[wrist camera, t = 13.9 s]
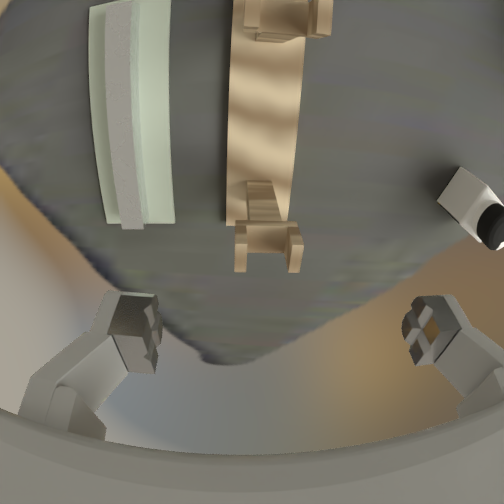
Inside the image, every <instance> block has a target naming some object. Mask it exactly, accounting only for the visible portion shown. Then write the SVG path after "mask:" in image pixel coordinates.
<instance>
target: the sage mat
mask: <svg viewBox="0 0 504 504" xmlns="http://www.w3.org/2000/svg"><path fill="white" fill-rule="evenodd" d="M127 1H134V2H136V3H138V4H140V21H139V102H140V124H141V140H142V153H143V165H144V175H145V185H146V194H147V203H148V211H149V219H148V221H147V223H175V212H174V199H173V185H172V169H171V149H170V122H169V39H170V14H171V0H119V1H114V2H110V3H105V4H101V5H97V6H93V7H90V13H89V87H90V104H91V116H92V127H93V137H94V146H95V154H96V161H97V168H98V175H99V181H100V187H101V193H102V199H103V204H104V210H105V215H106V220H107V224H118V223H121V219H120V213H119V208H118V202H117V195H116V189H115V182H114V175H113V167H112V159H111V151H110V141H109V131H108V119H107V105H106V86H105V18H106V6H107V5H112V4H117V3H122V2H127Z"/></svg>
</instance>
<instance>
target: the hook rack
mask: <svg viewBox="0 0 504 504" xmlns="http://www.w3.org/2000/svg"><path fill="white" fill-rule="evenodd" d="M332 10H333V0H312V1H311V2H308V0H234V1H233V18H232V37H231V58H230V82H229V110H228V145H227V198H226V226H235V272H246V261H247V253H284V255H285V259H286V264H287V269H288V273H299V271H300V266H301V260H302V254H303V249H304V243H303V240H302V237H301V234H300V231H299V228H298V225H297V222H295V221H287V217H288V209H289V201H290V192H291V184H292V175H293V166H294V157H295V147H296V138H297V128H298V118H299V107H300V96H301V85H302V74H303V61H304V49H305V37H307V38H314V39H318V38H322V37H326V36H330V35H331V25H332Z"/></svg>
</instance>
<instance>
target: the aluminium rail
mask: <svg viewBox="0 0 504 504" xmlns="http://www.w3.org/2000/svg"><path fill="white" fill-rule="evenodd" d="M139 21H140V4H138V3H136V2H134V1H127V2H122V3H117V4H112V5H107V6H106V18H105V86H106V105H107V119H108V131H109V141H110V151H111V159H112V167H113V175H114V182H115V189H116V195H117V202H118V208H119V213H120V219H121V225H122V229H144V228H145V226H146V224H147V221H148V219H149V211H148V203H147V194H146V185H145V175H144V165H143V153H142V140H141V124H140V102H139Z"/></svg>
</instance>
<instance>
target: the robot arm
mask: <svg viewBox="0 0 504 504" xmlns="http://www.w3.org/2000/svg"><path fill="white" fill-rule="evenodd" d="M158 305H159V302H158V298H157V295H155V294H144V293H133V292H119V291H107V293H106V294H105V295H104V297H103V300H102V302H101V304H100V307H99V309H98V312H97V314H96V317H95V319H94V322H93V325H92V327H91V330H90V332H84V333H83V334H82V335H81V336H80V337H78V338H77V339H76V340H74V341H73V342H72V343H71V344H70V345H68V346H67V347H66V348H65V349H63V350H62V351H61V352H60V353H58V354H57V355H56V356H55V357H54V358H52V359H51V360H50V361H49V362H47V363H46V364H45V365H44V366H43V367H42V368H40V369H39V370H38V371H37V372H35V373H34V374H33V375H32V376H31V378H30V380H29V383H28V386H27V389H26V391H25V394H24V397H23V400H22V403H21V406H20V409H19V412H18V415H16V414H13V413H11V412H8V411H6V410H3V409H1V408H0V504H504V350H503V349H502V348H501V347H500V346H498V345H497V344H496V343H495V342H493V341H492V340H491V339H490V338H488V337H487V336H486V335H484V334H483V333H482V332H480V331H479V330H478V329H477V328H473V327H472V326H471V324H470V322H469V320H468V319H467V317H466V315H465V314H464V312H463V310H462V309H461V307H460V305H459V304H458V302H457V300H456V299H455V297H454V296H452V295H436V296H418V297H416V298H415V299H414V300H413V302H412V304H411V307H412V310H410V311H409V312H408V313H407V314H406V315H405V317H404V319H403V321H402V328H401V329H402V335H403V337H404V340H405V341H406V342H407V343H409V344H410V349H409V352H410V354H411V356H412V359H413V362H414V364H415V366H420V365H427V364H434V366H436V368H437V369H438V370H439V371H440V372H441V373H442V374H443V375H444V376H445V377H446V378H447V379H448V380H449V382H450V383H451V384H452V385H453V386H454V387H455V388H456V389H457V390H458V391H459V392H460V394H461V395H462V396H463V397H464V398H465V399H464V400H463V401H462V402H461V403H460V404H458V406H457V408H456V409H457V412H458V415H459V419H456V420H454V421H451V422H448V423H445V424H441V425H438V426H435V427H432V428H428V429H425V430H421V431H418V432H414V433H410V434H407V435H403V436H398V437H394V438H390V439H386V440H381V441H376V442H372V443H366V444H360V445H354V446H348V447H342V448H335V449H328V450H320V451H310V452H299V453H287V454H286V453H285V454H265V455H219V454H198V453H185V452H175V451H165V450H157V449H149V448H143V447H136V446H130V445H124V444H119V443H114V442H108V441H104V440H105V434H106V427H105V425H104V424H103V423H102V422H101V420H100V419H98V417H97V416H96V415H95V414H94V412H95V411H96V410H97V409H98V408H99V407H100V405H101V404H102V403H103V402H104V401H105V400H106V398H107V397H108V396H109V395H110V394H111V393H112V392H113V391H114V389H115V388H116V387H117V386H118V385H119V384H120V382H121V381H122V380H123V379H124V378H125V377H126V376H127V375H128V372H136V373H146V374H155V372H156V366H157V361H158V353H157V349H156V348H157V347H158V346H159V345H160V344H161V338H162V328H163V325H162V317H161V314H160V313H159V312H158V311H157V309H158Z"/></svg>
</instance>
